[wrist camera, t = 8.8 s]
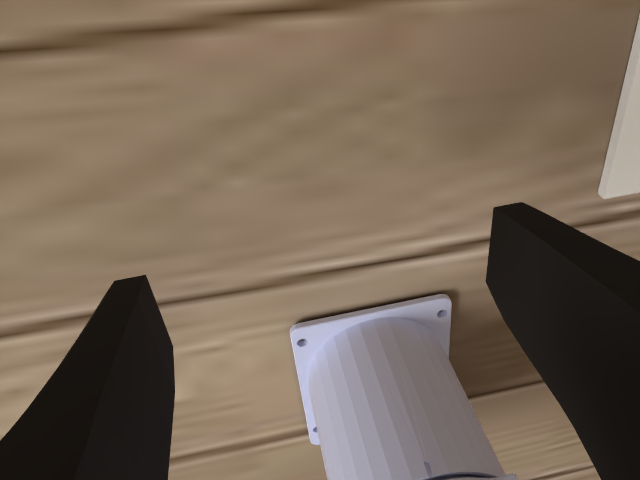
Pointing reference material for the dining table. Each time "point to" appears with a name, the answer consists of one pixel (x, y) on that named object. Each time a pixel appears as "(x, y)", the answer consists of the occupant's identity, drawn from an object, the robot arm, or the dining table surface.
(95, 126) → the dining table surface
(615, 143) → the mat
